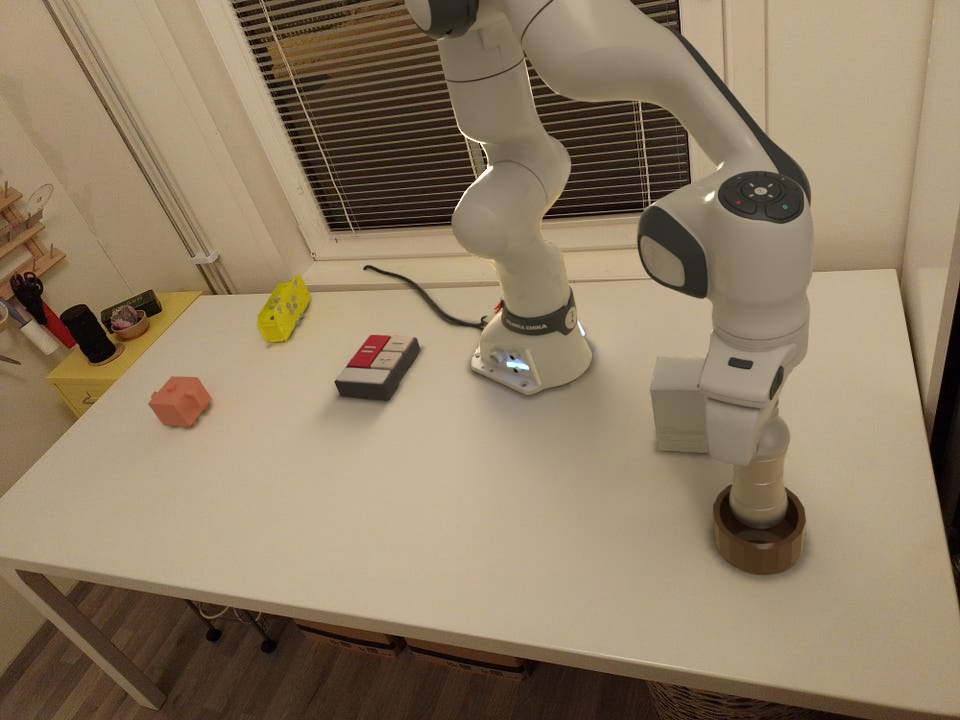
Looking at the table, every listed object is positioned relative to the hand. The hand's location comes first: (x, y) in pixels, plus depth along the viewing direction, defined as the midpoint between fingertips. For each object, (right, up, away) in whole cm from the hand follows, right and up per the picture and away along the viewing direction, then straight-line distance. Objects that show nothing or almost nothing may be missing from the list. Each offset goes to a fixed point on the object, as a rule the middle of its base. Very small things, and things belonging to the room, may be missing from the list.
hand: (758, 431), depth 78 cm
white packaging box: (0, -4, +28) cm, 29 cm away
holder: (+5, -15, +12) cm, 20 cm away
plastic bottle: (+4, -11, +10) cm, 15 cm away
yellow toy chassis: (-74, +16, +81) cm, 111 cm away
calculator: (-50, +5, +59) cm, 77 cm away
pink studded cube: (-90, -3, +63) cm, 110 cm away
